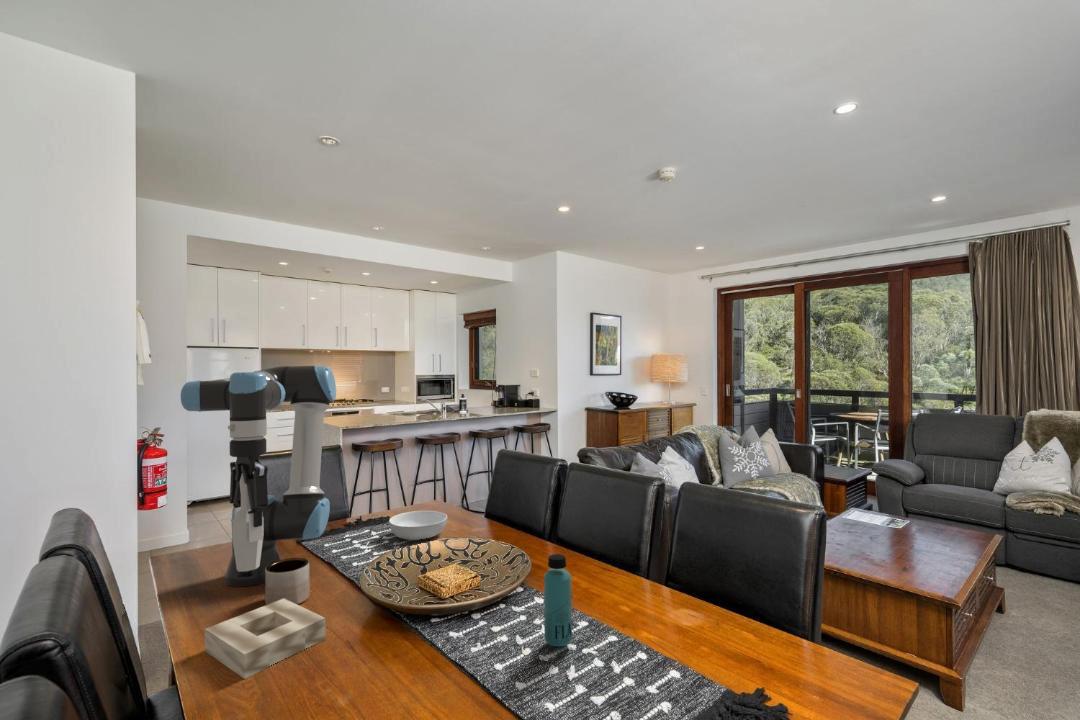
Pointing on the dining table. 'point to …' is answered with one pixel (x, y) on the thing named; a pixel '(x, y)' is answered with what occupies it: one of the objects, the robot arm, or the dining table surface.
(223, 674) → the dining table surface
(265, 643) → the socket block
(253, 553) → the low poly bottle
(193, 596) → the dining table surface
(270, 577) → the planter
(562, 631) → the beverage bottle
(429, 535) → the serving bowl
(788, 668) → the dining table surface
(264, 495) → the robot arm
